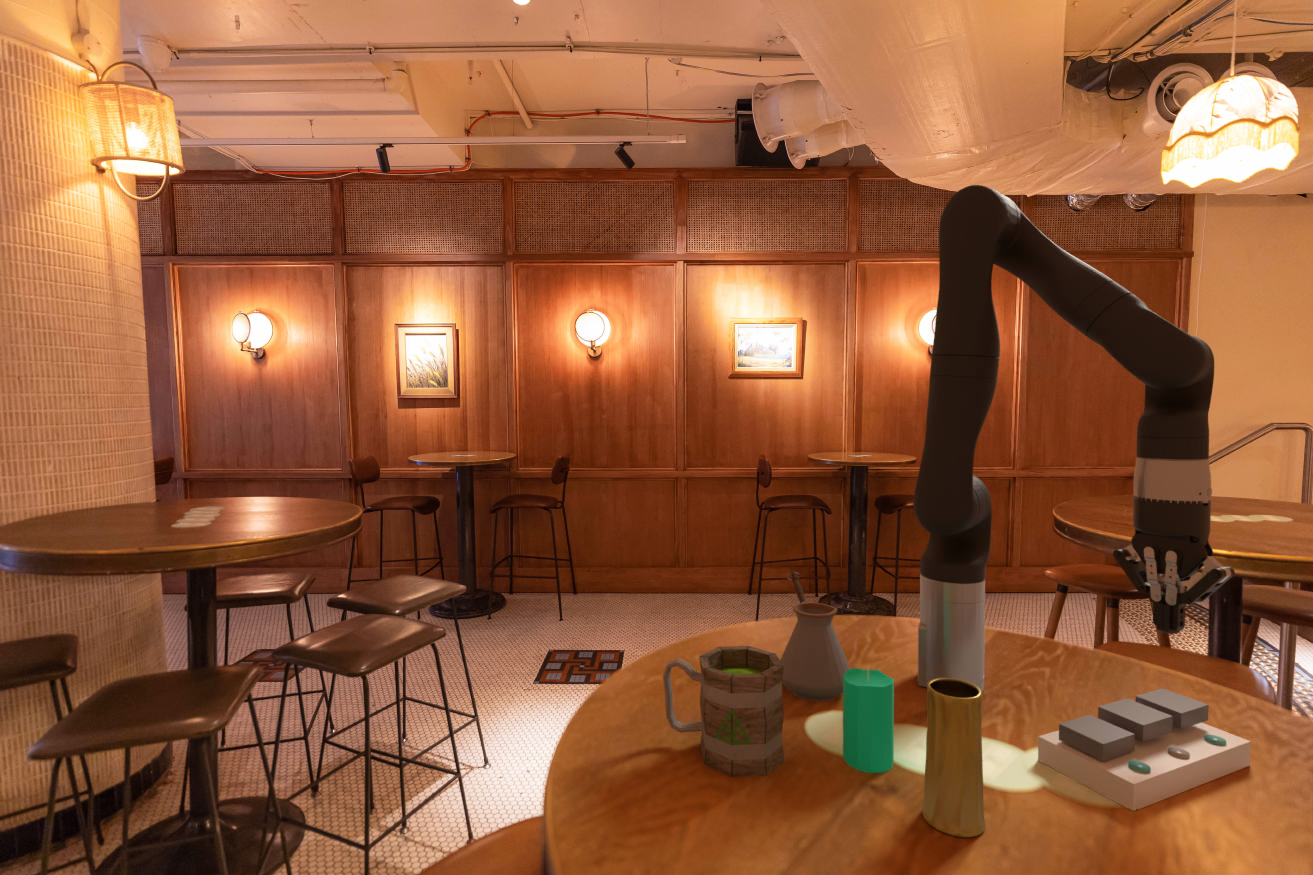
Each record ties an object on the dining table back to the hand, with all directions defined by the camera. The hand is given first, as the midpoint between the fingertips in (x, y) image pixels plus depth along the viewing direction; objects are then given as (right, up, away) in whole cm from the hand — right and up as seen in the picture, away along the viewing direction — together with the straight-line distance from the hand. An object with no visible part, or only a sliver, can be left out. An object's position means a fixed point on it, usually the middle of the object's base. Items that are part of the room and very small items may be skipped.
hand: (1168, 631), depth 81 cm
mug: (-56, -16, +2) cm, 58 cm away
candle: (-38, -16, -1) cm, 41 cm away
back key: (+1, -11, +1) cm, 11 cm away
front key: (-12, -12, -4) cm, 18 cm away
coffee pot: (-40, -15, +24) cm, 49 cm away
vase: (-33, -16, -12) cm, 39 cm away
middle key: (-5, -11, -1) cm, 13 cm away
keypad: (-5, -15, -2) cm, 16 cm away
